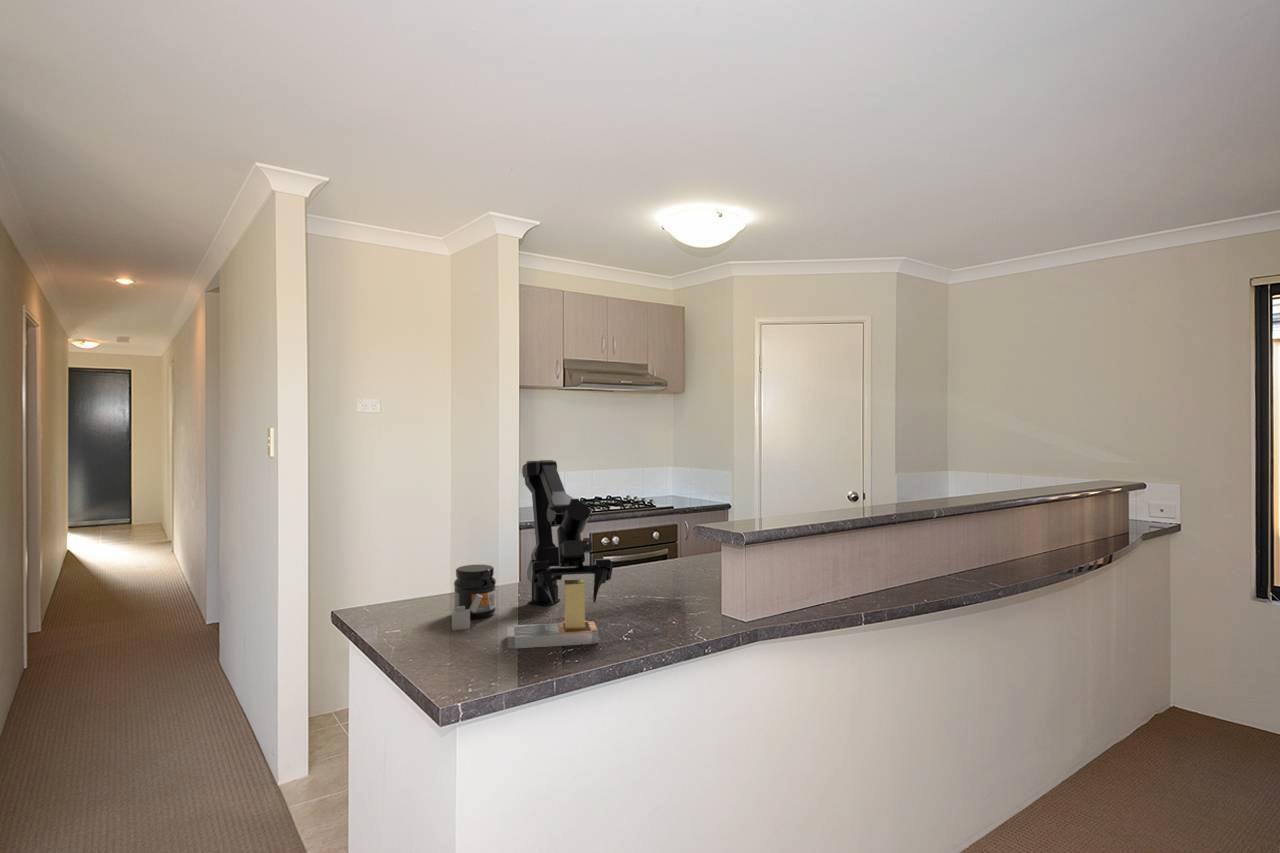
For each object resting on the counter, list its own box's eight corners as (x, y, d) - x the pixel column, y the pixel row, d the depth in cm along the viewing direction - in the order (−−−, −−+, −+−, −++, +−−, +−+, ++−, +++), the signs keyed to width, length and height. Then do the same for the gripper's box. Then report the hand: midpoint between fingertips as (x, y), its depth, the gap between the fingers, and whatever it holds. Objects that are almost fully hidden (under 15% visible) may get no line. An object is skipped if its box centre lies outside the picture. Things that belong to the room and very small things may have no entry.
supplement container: (501, 616, 181) (501, 569, 181) (460, 622, 176) (460, 574, 176) (488, 607, 190) (488, 562, 190) (448, 612, 185) (448, 566, 185)
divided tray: (507, 648, 156) (507, 636, 156) (507, 636, 165) (507, 624, 165) (598, 643, 160) (598, 631, 160) (593, 631, 168) (593, 620, 168)
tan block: (565, 642, 161) (565, 584, 160) (564, 636, 165) (564, 580, 165) (585, 641, 161) (585, 584, 161) (584, 635, 166) (584, 579, 166)
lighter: (452, 630, 169) (452, 596, 169) (451, 628, 171) (451, 595, 171) (482, 627, 172) (482, 594, 172) (481, 625, 173) (481, 592, 173)
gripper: (532, 527, 165) (534, 585, 154) (611, 524, 169) (619, 581, 158) (530, 554, 173) (532, 611, 162) (606, 551, 176) (613, 607, 166)
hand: (574, 602), depth 162 cm, fingers open, 9 cm apart
